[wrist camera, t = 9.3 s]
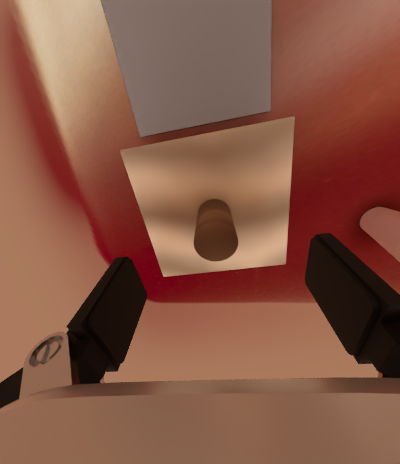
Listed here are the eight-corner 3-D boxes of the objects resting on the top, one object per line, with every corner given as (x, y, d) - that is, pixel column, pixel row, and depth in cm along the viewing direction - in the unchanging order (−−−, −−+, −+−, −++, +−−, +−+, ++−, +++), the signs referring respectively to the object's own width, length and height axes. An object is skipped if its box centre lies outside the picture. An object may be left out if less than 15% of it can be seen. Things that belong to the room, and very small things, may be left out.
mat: (84, -65, 15) (80, -71, 15) (270, -131, 13) (273, -140, 13) (141, 136, 22) (140, 137, 22) (269, 111, 20) (270, 110, 20)
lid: (125, 149, 16) (81, 157, 11) (288, 117, 15) (338, 107, 9) (165, 270, 23) (151, 315, 17) (281, 257, 21) (308, 302, 15)
